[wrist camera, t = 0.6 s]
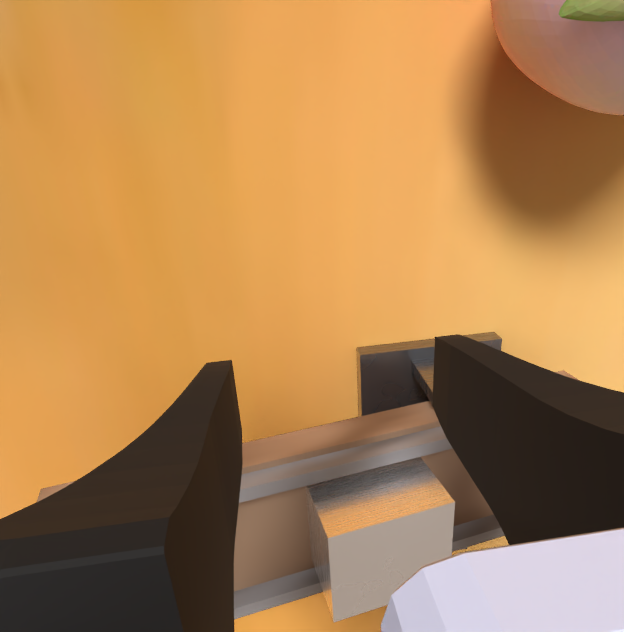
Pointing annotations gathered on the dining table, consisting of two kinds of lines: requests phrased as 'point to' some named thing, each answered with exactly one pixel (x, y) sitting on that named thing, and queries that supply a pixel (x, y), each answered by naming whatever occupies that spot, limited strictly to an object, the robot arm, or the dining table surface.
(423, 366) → the fulcrum stand
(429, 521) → the block
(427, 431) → the beam
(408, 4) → the dining table surface
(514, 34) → the decorative fruit
